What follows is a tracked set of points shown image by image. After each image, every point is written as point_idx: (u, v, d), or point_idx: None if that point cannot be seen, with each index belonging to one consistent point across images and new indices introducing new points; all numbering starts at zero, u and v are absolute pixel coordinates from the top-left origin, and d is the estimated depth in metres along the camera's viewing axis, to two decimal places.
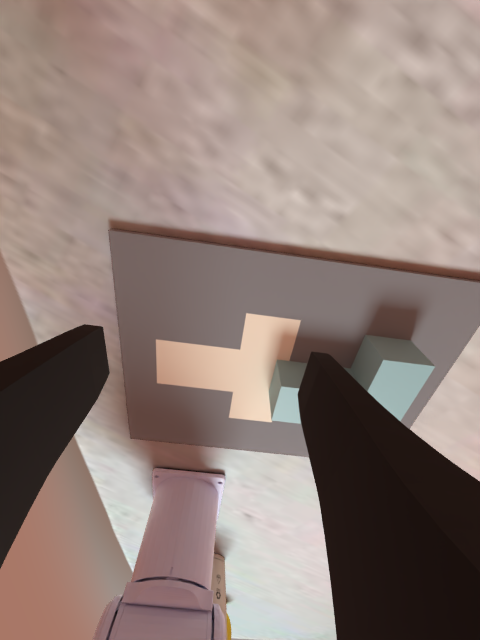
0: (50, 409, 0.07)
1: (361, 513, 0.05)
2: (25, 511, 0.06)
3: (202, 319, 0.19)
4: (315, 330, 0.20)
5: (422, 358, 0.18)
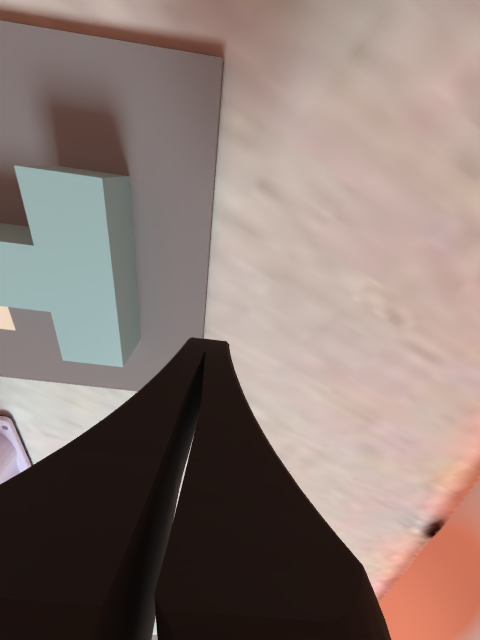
0: (187, 423, 0.07)
1: None
2: (172, 524, 0.07)
3: None
4: None
5: (99, 175, 0.12)
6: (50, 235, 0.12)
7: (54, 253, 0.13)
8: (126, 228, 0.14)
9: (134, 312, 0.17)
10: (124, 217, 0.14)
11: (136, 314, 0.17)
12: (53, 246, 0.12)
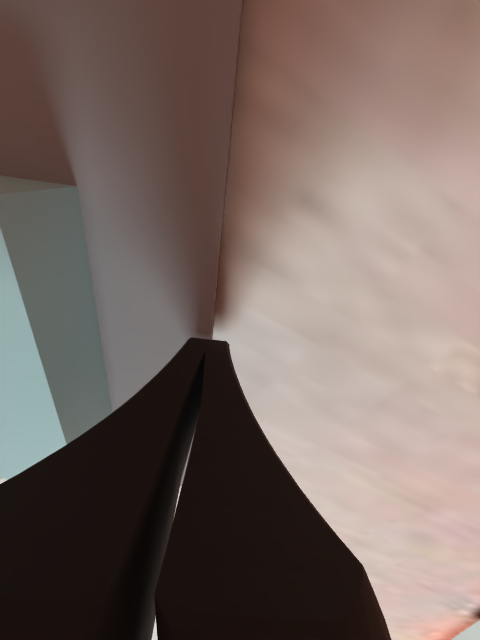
0: (187, 423, 0.07)
1: None
2: (172, 523, 0.07)
3: None
4: None
5: None
6: None
7: None
8: (73, 275, 0.08)
9: (99, 393, 0.11)
10: (67, 258, 0.08)
11: (103, 392, 0.11)
12: None
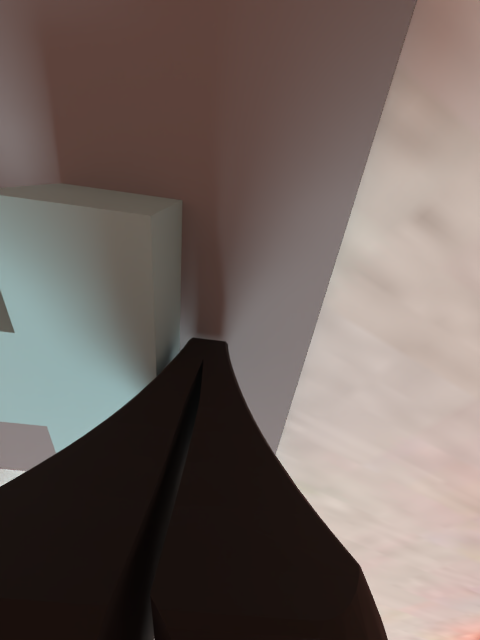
0: (189, 423, 0.07)
1: None
2: None
3: None
4: None
5: (140, 207, 0.06)
6: (45, 317, 0.06)
7: (52, 345, 0.07)
8: (174, 286, 0.08)
9: None
10: (173, 271, 0.08)
11: None
12: (50, 334, 0.07)
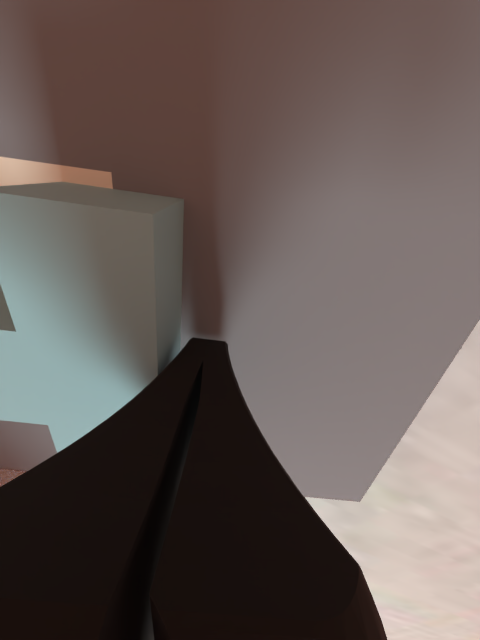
0: (189, 424, 0.07)
1: None
2: None
3: None
4: None
5: (143, 206, 0.06)
6: (46, 315, 0.06)
7: (54, 344, 0.07)
8: (175, 286, 0.08)
9: None
10: (174, 270, 0.08)
11: None
12: (52, 332, 0.07)
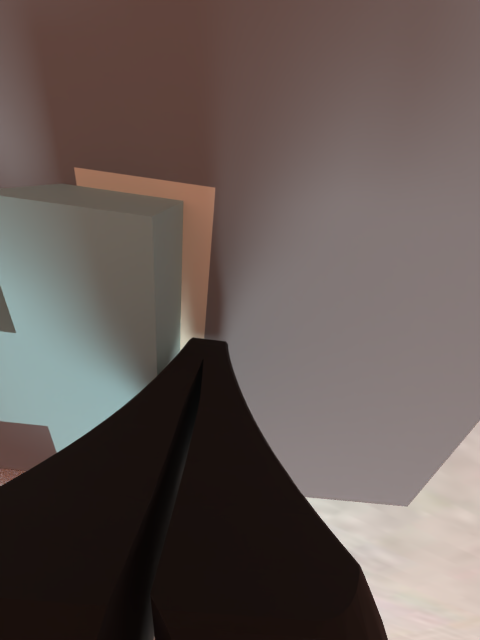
0: (189, 423, 0.07)
1: None
2: None
3: None
4: (254, 217, 0.08)
5: (142, 208, 0.06)
6: (46, 317, 0.06)
7: (54, 345, 0.07)
8: (175, 287, 0.08)
9: None
10: (174, 271, 0.08)
11: None
12: (52, 334, 0.07)
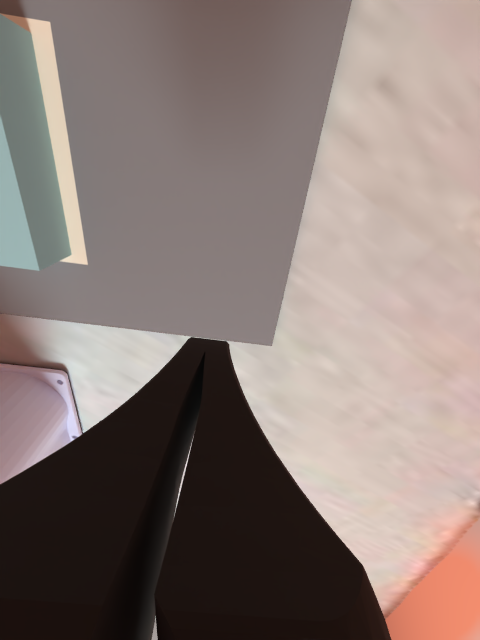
0: (187, 423, 0.07)
1: None
2: (171, 523, 0.07)
3: None
4: (81, 47, 0.12)
5: None
6: None
7: None
8: (30, 96, 0.12)
9: (56, 214, 0.15)
10: (24, 80, 0.12)
11: (60, 218, 0.15)
12: None
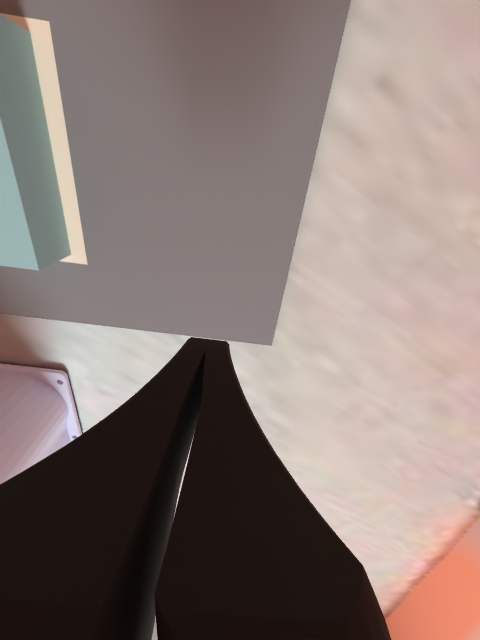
0: (187, 423, 0.07)
1: None
2: (171, 523, 0.07)
3: None
4: (80, 46, 0.12)
5: None
6: None
7: None
8: (29, 96, 0.12)
9: (56, 214, 0.15)
10: (24, 79, 0.12)
11: (59, 218, 0.15)
12: None
